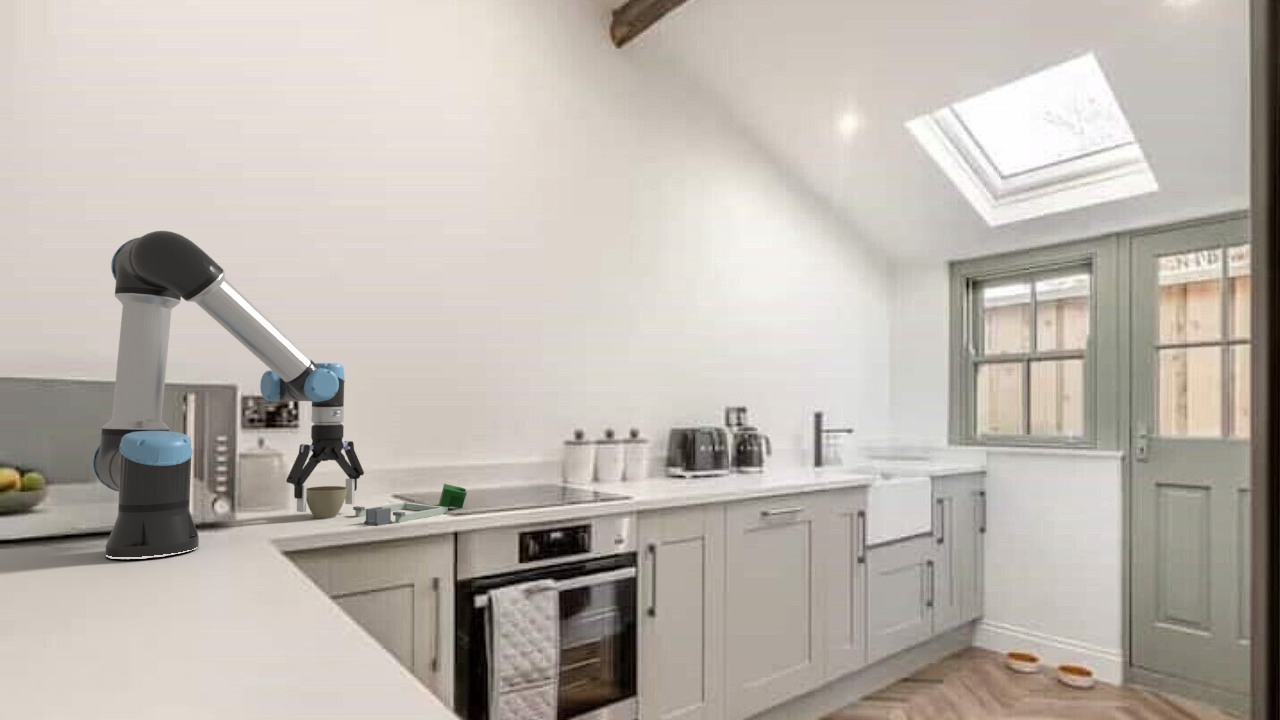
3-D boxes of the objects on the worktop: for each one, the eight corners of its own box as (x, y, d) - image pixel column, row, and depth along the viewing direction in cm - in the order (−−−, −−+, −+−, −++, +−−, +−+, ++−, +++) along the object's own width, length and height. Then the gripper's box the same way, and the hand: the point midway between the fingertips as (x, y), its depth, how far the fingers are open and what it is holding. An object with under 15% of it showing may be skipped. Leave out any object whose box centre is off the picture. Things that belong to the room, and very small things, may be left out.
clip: (378, 525, 168) (378, 510, 169) (364, 523, 171) (364, 508, 171) (391, 523, 172) (392, 508, 172) (378, 521, 175) (378, 506, 175)
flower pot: (316, 521, 174) (317, 492, 174) (296, 517, 180) (296, 488, 180) (354, 516, 182) (355, 487, 182) (333, 512, 188) (334, 484, 188)
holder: (401, 522, 172) (401, 513, 172) (353, 515, 182) (353, 506, 182) (450, 513, 186) (450, 504, 186) (403, 507, 195) (403, 499, 195)
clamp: (457, 525, 193) (466, 497, 190) (435, 521, 191) (444, 492, 189) (461, 502, 204) (469, 475, 201) (440, 498, 202) (448, 470, 200)
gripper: (290, 426, 169) (288, 516, 168) (378, 422, 190) (377, 502, 189) (271, 425, 173) (270, 513, 172) (360, 421, 194) (359, 500, 193)
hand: (326, 507), depth 181 cm, fingers open, 13 cm apart
